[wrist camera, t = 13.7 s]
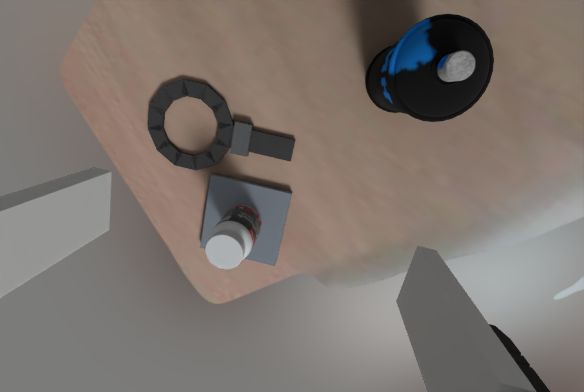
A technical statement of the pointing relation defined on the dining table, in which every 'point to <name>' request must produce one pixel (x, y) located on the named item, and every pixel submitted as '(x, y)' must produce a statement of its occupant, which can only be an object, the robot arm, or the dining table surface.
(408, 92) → the aerosol can
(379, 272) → the dining table surface
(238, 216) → the pill bottle
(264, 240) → the slate trivet
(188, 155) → the iron eye
